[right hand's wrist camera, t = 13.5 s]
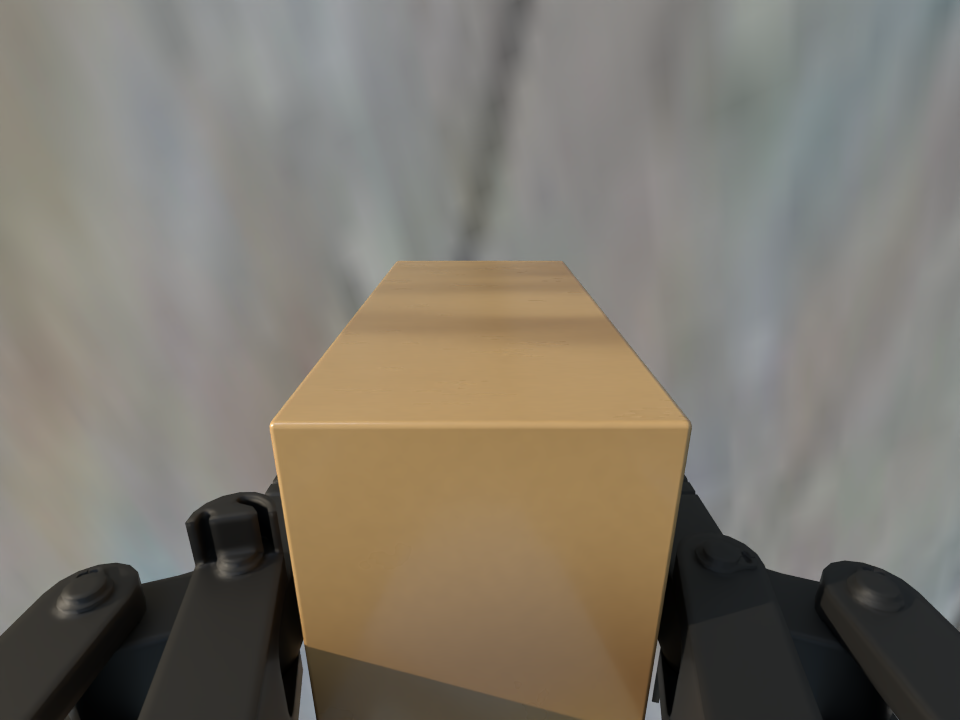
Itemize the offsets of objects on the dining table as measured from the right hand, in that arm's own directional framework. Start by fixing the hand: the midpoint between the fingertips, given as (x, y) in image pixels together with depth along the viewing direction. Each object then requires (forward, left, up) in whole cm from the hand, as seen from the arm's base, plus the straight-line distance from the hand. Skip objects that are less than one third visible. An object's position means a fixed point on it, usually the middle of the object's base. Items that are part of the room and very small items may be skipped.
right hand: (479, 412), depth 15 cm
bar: (+2, +7, -1) cm, 7 cm away
